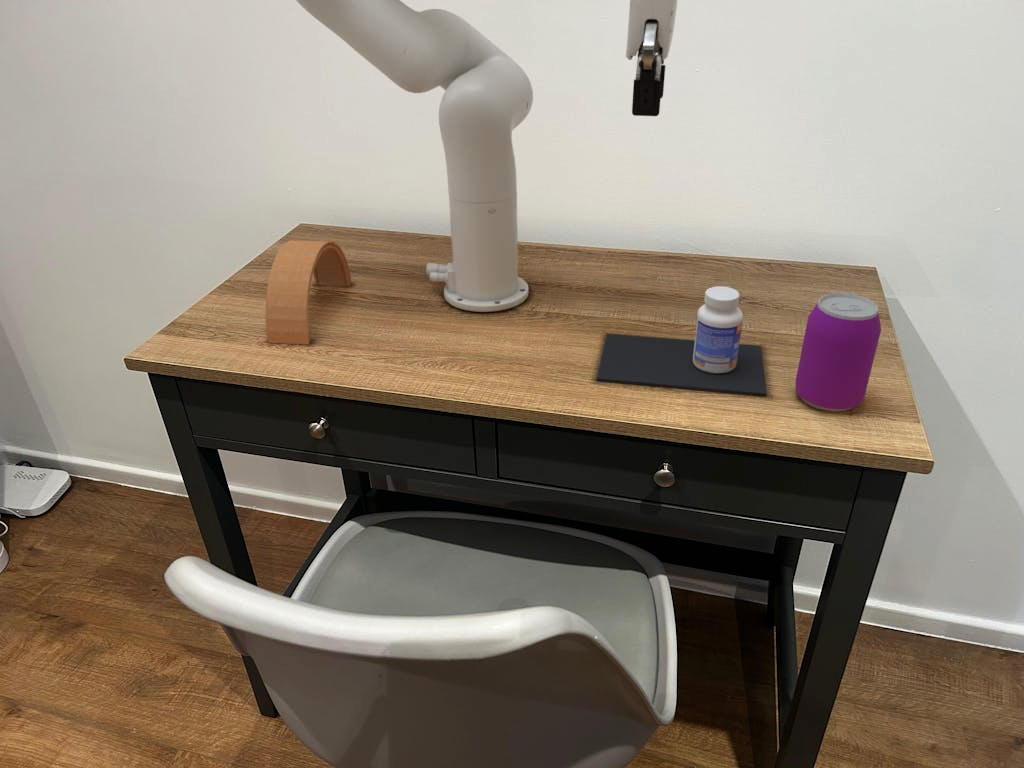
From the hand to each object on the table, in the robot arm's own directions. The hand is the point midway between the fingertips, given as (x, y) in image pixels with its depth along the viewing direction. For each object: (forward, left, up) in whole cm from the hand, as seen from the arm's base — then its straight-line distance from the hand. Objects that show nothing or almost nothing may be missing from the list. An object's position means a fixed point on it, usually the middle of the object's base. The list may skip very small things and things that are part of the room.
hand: (647, 106), depth 100 cm
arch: (-45, -8, -28) cm, 54 cm away
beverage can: (+24, -19, -28) cm, 42 cm away
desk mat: (+7, -14, -28) cm, 32 cm away
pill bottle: (+11, -14, -28) cm, 33 cm away
